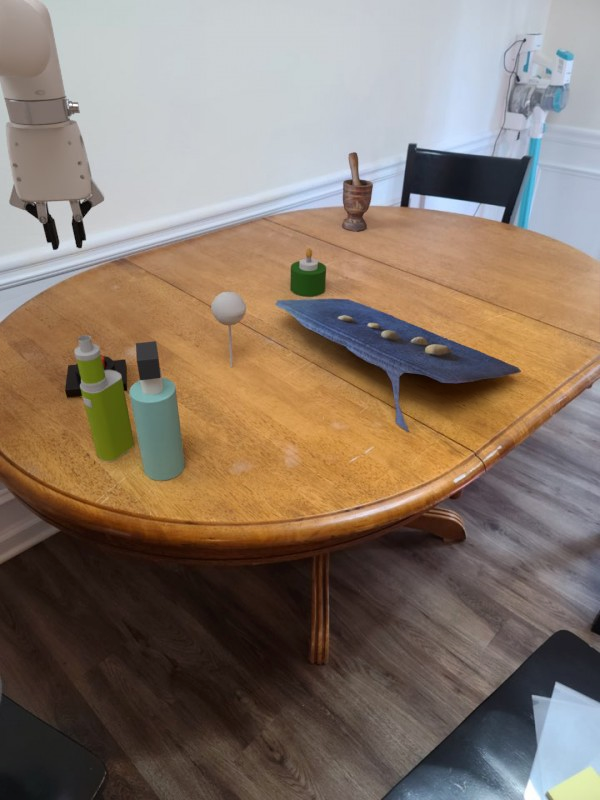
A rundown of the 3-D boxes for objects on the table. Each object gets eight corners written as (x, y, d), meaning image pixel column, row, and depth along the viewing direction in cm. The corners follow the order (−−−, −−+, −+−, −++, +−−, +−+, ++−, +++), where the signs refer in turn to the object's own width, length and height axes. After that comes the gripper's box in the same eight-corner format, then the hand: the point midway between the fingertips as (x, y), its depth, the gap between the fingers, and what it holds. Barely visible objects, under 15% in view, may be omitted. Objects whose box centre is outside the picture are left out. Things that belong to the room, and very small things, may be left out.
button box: (66, 398, 96) (62, 381, 94) (69, 373, 103) (65, 356, 100) (127, 390, 99) (124, 374, 96) (126, 366, 105) (123, 350, 103)
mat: (254, 346, 116) (263, 292, 112) (342, 339, 135) (353, 292, 131) (430, 444, 88) (451, 376, 84) (511, 417, 107) (532, 361, 102)
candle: (283, 287, 134) (283, 247, 129) (308, 279, 139) (310, 239, 133) (306, 299, 130) (308, 258, 124) (332, 290, 134) (334, 249, 128)
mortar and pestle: (328, 222, 174) (332, 153, 162) (350, 218, 178) (356, 150, 166) (351, 233, 166) (357, 162, 154) (374, 229, 170) (381, 158, 158)
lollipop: (254, 365, 106) (252, 291, 98) (234, 379, 102) (230, 304, 94) (229, 354, 109) (225, 282, 100) (208, 367, 105) (202, 294, 96)
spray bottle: (142, 456, 85) (122, 341, 73) (183, 450, 86) (169, 336, 75) (144, 483, 80) (122, 365, 69) (186, 477, 82) (172, 360, 70)
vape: (91, 455, 85) (62, 340, 73) (121, 434, 89) (98, 322, 77) (108, 465, 83) (81, 348, 71) (138, 443, 87) (117, 329, 76)
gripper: (103, 106, 80) (123, 234, 91) (-23, 108, 76) (14, 240, 87) (101, 116, 74) (123, 251, 85) (-35, 118, 70) (6, 259, 81)
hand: (67, 244), depth 86 cm, fingers closed
